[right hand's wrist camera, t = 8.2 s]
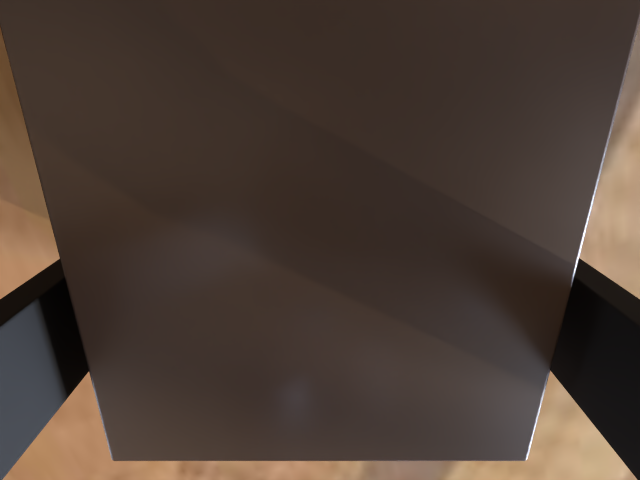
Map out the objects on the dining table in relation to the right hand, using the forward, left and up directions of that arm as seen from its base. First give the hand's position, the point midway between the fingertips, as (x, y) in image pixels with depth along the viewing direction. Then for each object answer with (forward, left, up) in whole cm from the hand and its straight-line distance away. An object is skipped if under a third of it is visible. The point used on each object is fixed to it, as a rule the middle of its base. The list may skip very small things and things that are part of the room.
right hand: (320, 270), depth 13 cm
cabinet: (+4, -6, -4) cm, 8 cm away
